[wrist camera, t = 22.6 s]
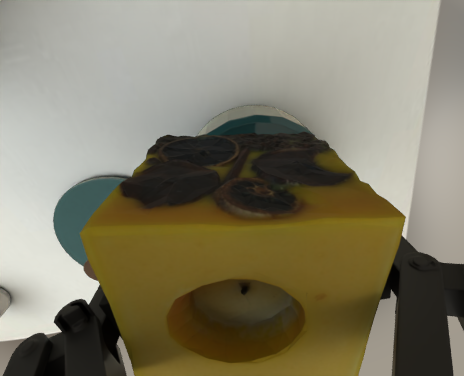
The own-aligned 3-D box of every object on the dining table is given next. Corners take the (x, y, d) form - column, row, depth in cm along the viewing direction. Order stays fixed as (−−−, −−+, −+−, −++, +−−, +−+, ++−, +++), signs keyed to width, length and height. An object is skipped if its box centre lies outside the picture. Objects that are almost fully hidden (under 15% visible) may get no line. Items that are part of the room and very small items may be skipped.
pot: (206, 233, 40) (203, 260, 35) (169, 122, 32) (158, 136, 26) (319, 210, 39) (334, 235, 33) (311, 89, 31) (329, 97, 25)
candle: (301, 252, 21) (357, 399, 12) (176, 257, 21) (140, 408, 12) (316, 127, 16) (428, 216, 7) (155, 133, 16) (69, 230, 7)
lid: (93, 282, 44) (68, 327, 37) (31, 190, 35) (-18, 225, 28) (198, 262, 43) (193, 305, 35) (160, 161, 34) (143, 191, 27)
